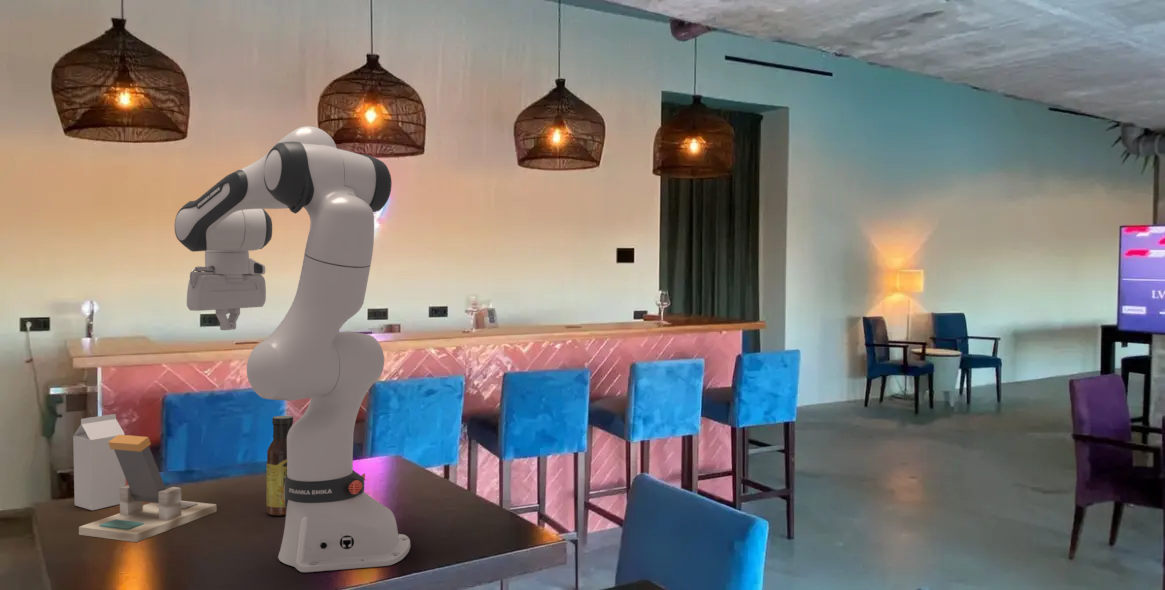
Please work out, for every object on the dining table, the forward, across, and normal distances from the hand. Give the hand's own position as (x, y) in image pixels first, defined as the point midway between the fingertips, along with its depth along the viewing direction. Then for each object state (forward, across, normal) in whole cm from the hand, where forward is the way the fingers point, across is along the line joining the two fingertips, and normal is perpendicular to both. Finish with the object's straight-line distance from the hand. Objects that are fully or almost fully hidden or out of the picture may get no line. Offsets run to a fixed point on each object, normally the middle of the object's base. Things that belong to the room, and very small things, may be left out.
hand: (228, 329), depth 178 cm
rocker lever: (+32, -19, +3) cm, 37 cm away
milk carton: (+37, -13, +23) cm, 46 cm away
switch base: (+37, -19, +3) cm, 42 cm away
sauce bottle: (+37, -5, -18) cm, 42 cm away
